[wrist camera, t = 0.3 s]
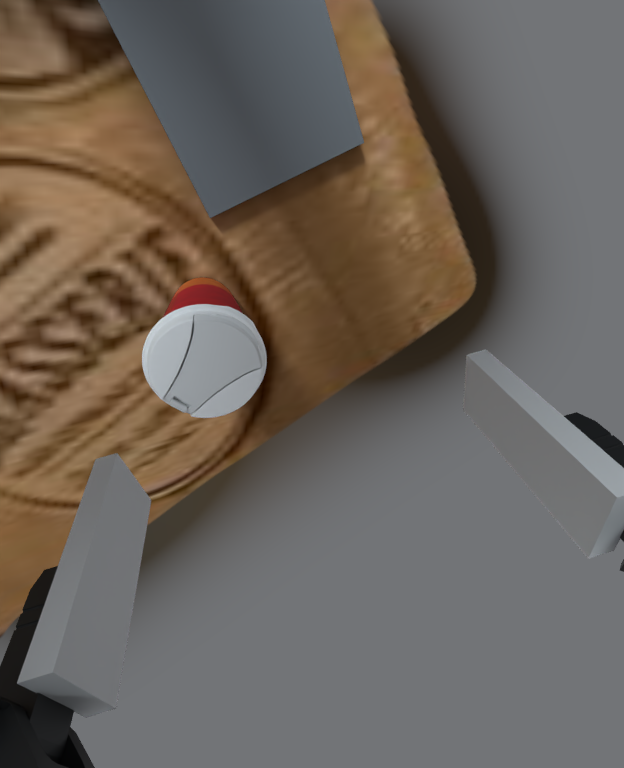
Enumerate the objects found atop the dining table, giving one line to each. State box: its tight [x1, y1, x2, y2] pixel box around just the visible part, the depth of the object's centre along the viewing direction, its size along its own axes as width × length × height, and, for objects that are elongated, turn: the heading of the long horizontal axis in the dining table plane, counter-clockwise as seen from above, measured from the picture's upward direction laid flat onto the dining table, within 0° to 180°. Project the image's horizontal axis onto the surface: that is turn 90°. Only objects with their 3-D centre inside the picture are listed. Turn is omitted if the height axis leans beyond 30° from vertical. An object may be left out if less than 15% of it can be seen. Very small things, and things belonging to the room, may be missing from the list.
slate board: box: [98, 0, 364, 218], centre depth 29 cm, size 18×15×2 cm
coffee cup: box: [142, 278, 267, 418], centre depth 31 cm, size 8×8×15 cm
